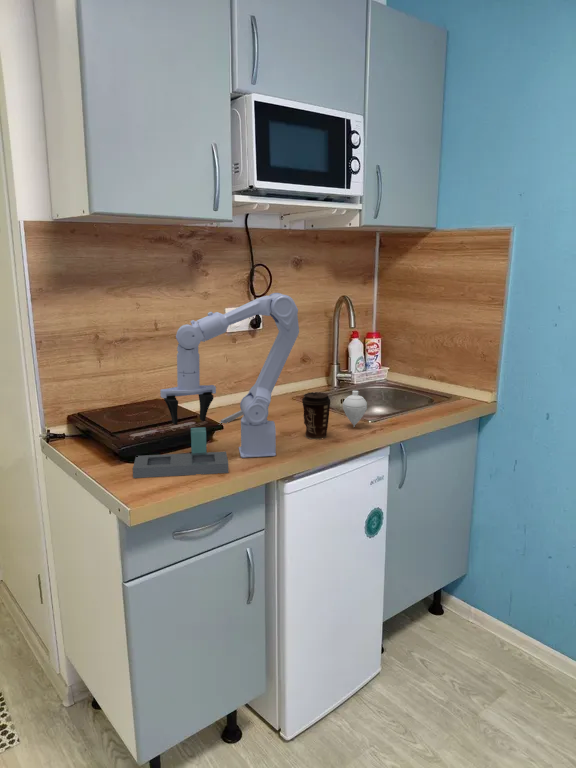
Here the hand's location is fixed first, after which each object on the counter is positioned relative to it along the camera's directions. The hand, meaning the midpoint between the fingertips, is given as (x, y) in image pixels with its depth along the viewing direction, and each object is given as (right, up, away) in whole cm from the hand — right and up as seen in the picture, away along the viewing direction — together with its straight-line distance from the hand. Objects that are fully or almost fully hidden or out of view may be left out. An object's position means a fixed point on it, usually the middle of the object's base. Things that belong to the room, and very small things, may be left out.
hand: (188, 421), depth 149 cm
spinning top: (+47, -4, +30) cm, 56 cm away
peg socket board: (-1, -12, -6) cm, 13 cm away
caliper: (+11, -2, +40) cm, 41 cm away
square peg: (+2, -9, +4) cm, 10 cm away
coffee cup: (+35, -6, +21) cm, 41 cm away
